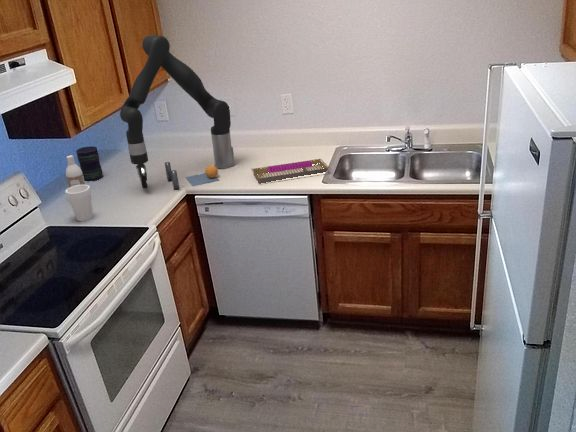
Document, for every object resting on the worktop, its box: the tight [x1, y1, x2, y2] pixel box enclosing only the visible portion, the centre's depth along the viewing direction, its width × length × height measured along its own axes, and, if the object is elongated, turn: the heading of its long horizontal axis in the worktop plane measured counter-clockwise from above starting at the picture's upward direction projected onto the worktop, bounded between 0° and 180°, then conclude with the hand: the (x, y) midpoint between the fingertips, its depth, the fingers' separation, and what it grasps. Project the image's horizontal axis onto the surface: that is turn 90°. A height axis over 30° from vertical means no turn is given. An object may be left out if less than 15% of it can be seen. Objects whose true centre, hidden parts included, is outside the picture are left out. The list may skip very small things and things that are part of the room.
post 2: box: [171, 169, 180, 191], centre depth 238 cm, size 3×3×9 cm
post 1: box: [164, 161, 172, 182], centre depth 249 cm, size 3×3×9 cm
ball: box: [204, 164, 219, 178], centre depth 250 cm, size 6×6×6 cm
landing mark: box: [185, 172, 220, 187], centre depth 250 cm, size 13×13×1 cm
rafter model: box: [251, 158, 331, 185], centre depth 247 cm, size 35×14×6 cm, turn 105°
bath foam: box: [65, 154, 86, 188], centre depth 234 cm, size 7×7×20 cm
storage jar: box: [75, 145, 104, 182], centre depth 257 cm, size 10×10×15 cm
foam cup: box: [64, 184, 94, 222], centre depth 215 cm, size 10×9×13 cm
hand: (144, 187), depth 240 cm, fingers closed
